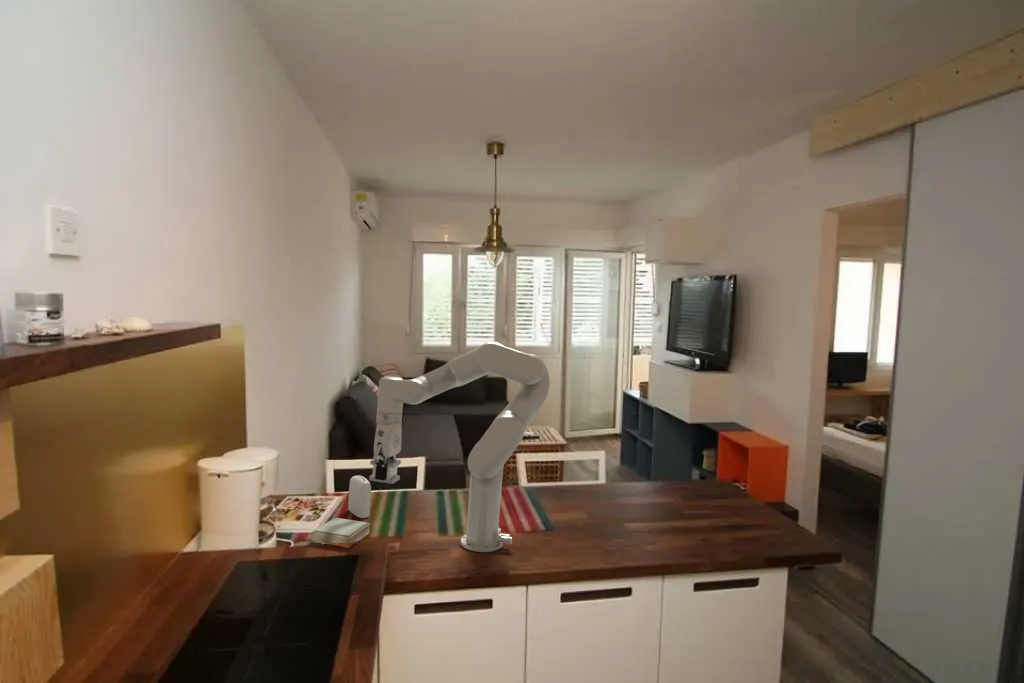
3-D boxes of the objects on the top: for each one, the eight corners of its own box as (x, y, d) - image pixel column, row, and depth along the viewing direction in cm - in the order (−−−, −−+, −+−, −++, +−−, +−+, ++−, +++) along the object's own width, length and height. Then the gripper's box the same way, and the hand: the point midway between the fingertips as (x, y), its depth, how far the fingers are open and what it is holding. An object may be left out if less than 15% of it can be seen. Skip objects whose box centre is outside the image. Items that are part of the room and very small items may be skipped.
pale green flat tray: (369, 533, 160) (369, 522, 160) (349, 548, 149) (350, 536, 149) (333, 527, 163) (334, 516, 163) (310, 542, 151) (311, 530, 151)
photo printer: (346, 509, 179) (348, 473, 179) (358, 507, 182) (360, 472, 181) (358, 519, 171) (361, 481, 171) (371, 517, 174) (373, 480, 173)
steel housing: (399, 479, 162) (401, 460, 162) (392, 483, 157) (393, 463, 157) (376, 476, 164) (378, 456, 163) (369, 480, 159) (370, 460, 159)
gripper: (388, 423, 151) (383, 486, 151) (412, 415, 167) (407, 472, 168) (364, 420, 152) (359, 482, 153) (390, 412, 169) (385, 468, 169)
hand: (384, 476), depth 160 cm, fingers closed on steel housing, 5 cm apart
